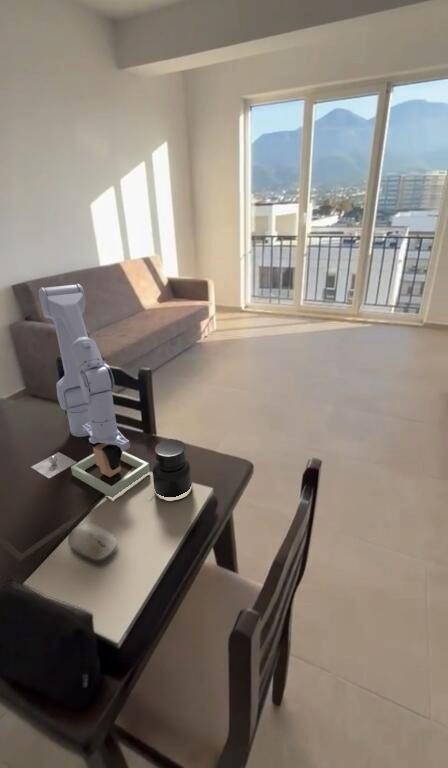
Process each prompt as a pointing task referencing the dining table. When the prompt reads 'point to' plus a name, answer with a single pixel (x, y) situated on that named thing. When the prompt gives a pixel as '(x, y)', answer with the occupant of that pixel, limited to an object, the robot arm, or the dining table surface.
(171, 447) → the ink bottle
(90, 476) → the parts bin
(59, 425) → the dining table surface
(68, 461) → the stud plate
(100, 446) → the light orange block
